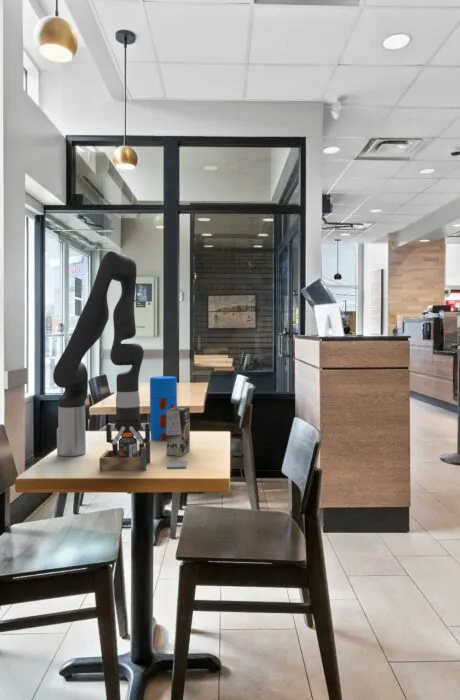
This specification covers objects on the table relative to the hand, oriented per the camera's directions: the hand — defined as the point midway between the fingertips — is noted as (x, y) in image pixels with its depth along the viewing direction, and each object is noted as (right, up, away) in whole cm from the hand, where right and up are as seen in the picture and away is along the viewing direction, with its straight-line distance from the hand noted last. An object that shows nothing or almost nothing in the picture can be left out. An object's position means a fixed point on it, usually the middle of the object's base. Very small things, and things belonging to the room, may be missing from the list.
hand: (128, 455), depth 171 cm
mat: (+16, -4, 0) cm, 16 cm away
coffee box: (+14, -3, +18) cm, 24 cm away
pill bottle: (0, -4, 0) cm, 4 cm away
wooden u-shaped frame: (-1, -4, 0) cm, 4 cm away
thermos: (+6, -2, +44) cm, 45 cm away
